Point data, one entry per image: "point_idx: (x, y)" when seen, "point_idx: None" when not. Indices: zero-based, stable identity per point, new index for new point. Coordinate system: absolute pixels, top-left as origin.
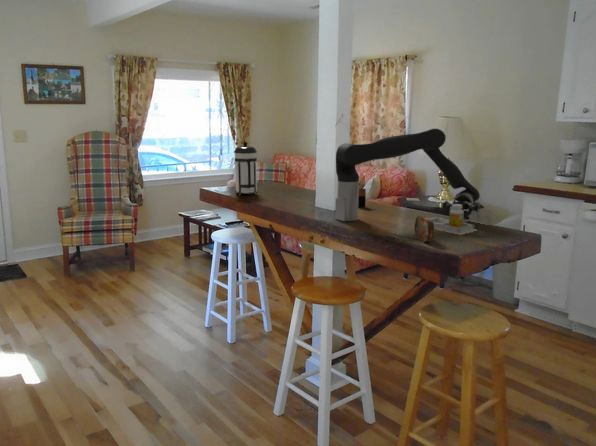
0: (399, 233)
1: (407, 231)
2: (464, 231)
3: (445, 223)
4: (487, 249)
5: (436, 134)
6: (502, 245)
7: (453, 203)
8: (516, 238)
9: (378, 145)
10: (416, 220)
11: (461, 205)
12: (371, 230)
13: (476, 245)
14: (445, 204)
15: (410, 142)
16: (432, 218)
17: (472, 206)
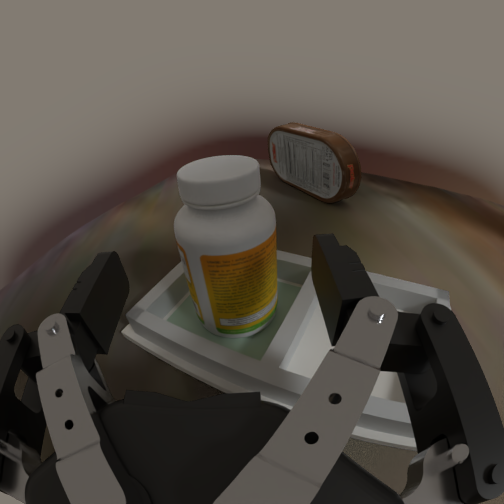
0: (398, 206)
1: (401, 226)
2: None
3: (300, 290)
4: (146, 191)
5: None
6: (101, 219)
7: (321, 370)
8: (30, 285)
9: None
10: (356, 160)
11: (184, 166)
12: (463, 207)
13: (165, 199)
14: (418, 332)
15: None
16: None
17: (58, 321)
